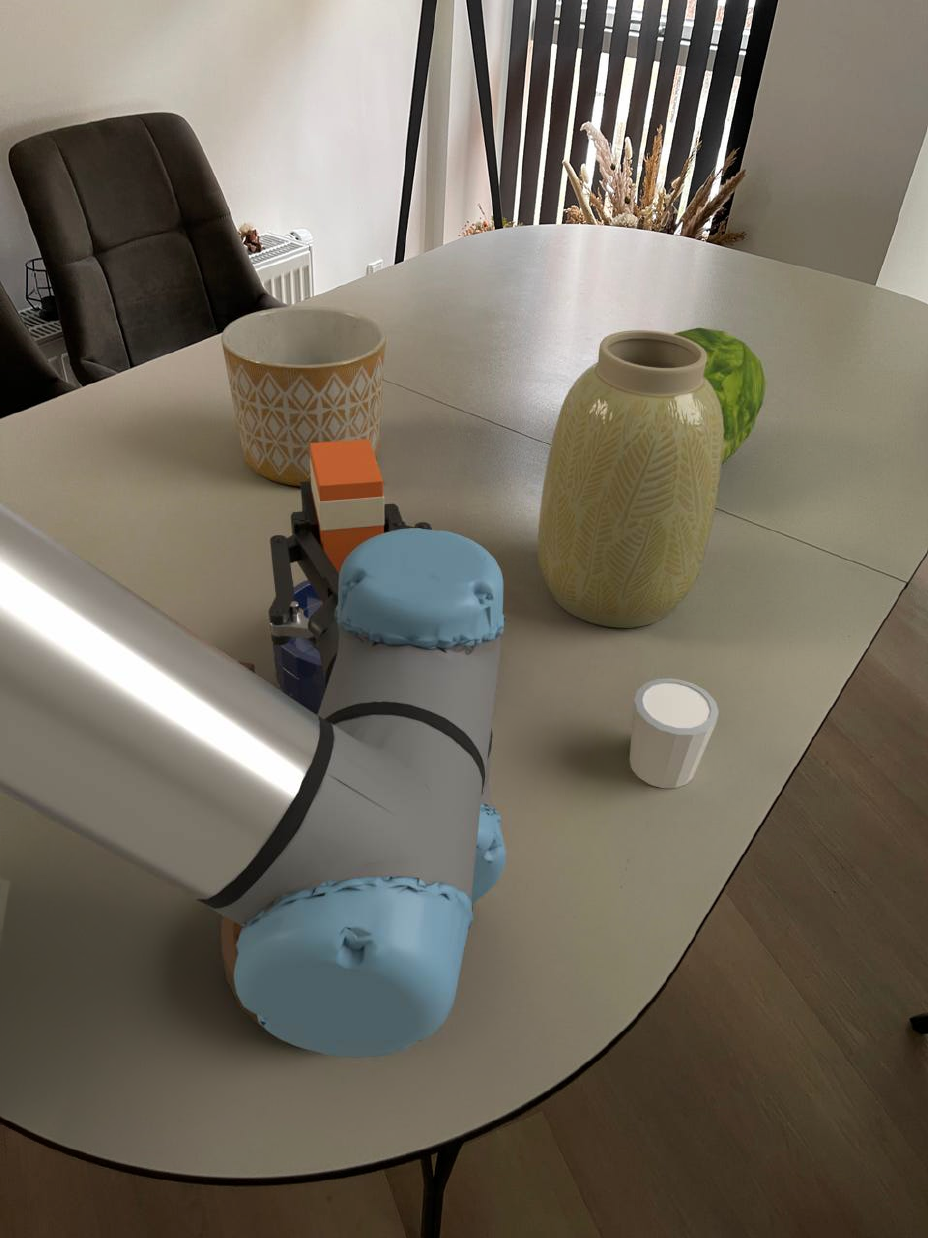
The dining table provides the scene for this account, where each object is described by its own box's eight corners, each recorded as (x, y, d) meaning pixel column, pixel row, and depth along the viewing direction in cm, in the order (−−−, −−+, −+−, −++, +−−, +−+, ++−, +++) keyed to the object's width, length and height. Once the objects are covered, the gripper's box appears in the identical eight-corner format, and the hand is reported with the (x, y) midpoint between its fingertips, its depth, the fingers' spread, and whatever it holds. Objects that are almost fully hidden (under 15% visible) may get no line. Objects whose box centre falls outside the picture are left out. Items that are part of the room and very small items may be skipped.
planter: (256, 507, 112) (243, 375, 102) (220, 437, 126) (205, 314, 116) (408, 480, 119) (409, 354, 109) (358, 416, 133) (355, 299, 123)
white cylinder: (703, 800, 79) (720, 740, 74) (620, 787, 80) (633, 726, 75) (701, 742, 84) (717, 683, 80) (624, 730, 85) (636, 671, 81)
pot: (283, 729, 83) (278, 678, 79) (269, 628, 94) (264, 578, 91) (445, 707, 86) (448, 657, 83) (413, 611, 98) (414, 563, 94)
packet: (326, 632, 74) (318, 485, 66) (317, 584, 79) (308, 442, 71) (385, 626, 75) (384, 480, 67) (372, 578, 80) (369, 438, 72)
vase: (661, 543, 110) (707, 313, 94) (717, 634, 97) (783, 385, 80) (516, 551, 107) (538, 316, 91) (553, 647, 94) (587, 391, 78)
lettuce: (640, 545, 121) (565, 447, 115) (688, 442, 136) (623, 351, 130) (755, 502, 110) (679, 391, 104) (794, 395, 124) (729, 292, 118)
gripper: (248, 744, 59) (232, 542, 77) (518, 709, 63) (443, 524, 81) (235, 651, 54) (221, 459, 72) (528, 619, 58) (446, 444, 76)
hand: (338, 494), depth 76 cm, fingers closed on packet, 4 cm apart
